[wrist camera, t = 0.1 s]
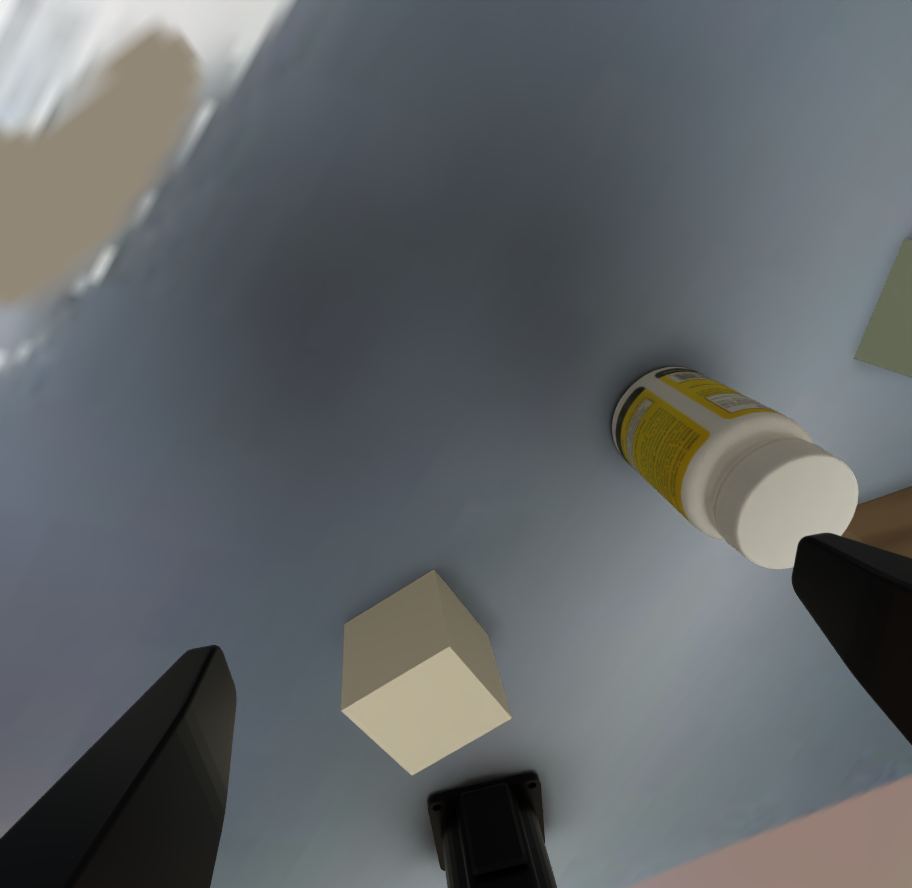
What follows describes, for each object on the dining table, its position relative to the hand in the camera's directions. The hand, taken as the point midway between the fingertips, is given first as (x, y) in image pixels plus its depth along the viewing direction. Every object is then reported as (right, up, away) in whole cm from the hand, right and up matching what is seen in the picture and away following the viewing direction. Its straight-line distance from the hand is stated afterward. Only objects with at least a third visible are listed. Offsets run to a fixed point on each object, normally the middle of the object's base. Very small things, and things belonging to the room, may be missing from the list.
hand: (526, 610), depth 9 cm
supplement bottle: (+8, +4, +16) cm, 18 cm away
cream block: (-3, -6, +19) cm, 20 cm away
